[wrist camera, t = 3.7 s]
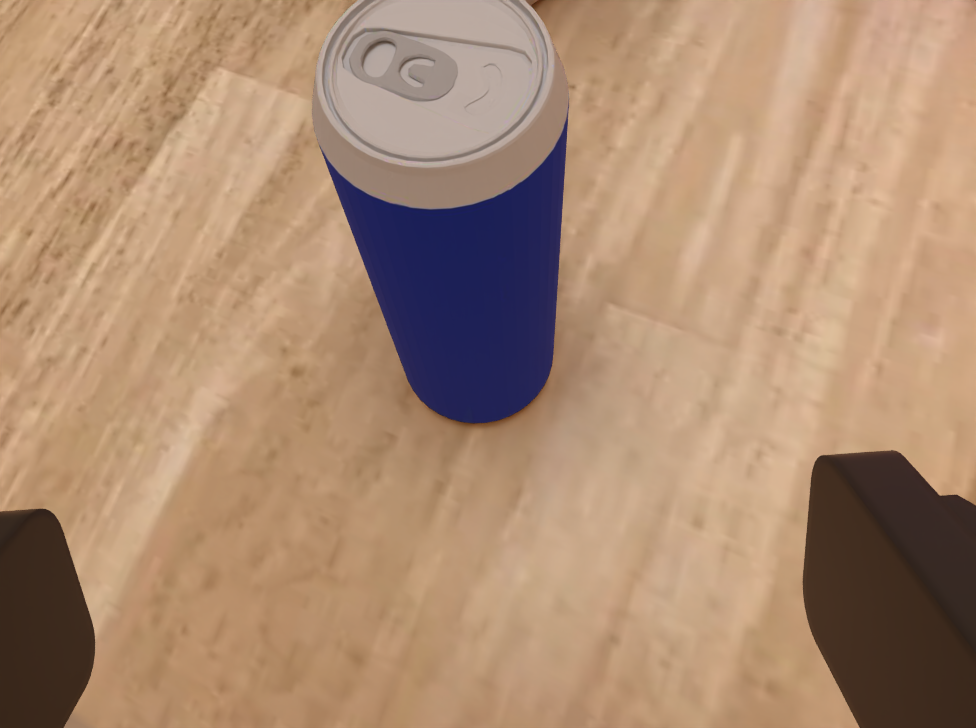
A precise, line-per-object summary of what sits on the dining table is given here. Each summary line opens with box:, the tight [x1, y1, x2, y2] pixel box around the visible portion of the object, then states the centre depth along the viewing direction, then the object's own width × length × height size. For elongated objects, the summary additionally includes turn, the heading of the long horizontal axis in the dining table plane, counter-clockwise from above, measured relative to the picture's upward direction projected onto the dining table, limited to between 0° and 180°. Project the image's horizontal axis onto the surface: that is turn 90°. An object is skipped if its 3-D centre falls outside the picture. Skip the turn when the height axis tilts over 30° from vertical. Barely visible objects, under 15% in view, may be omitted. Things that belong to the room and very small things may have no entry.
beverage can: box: [312, 0, 569, 423], centre depth 24 cm, size 5×5×15 cm
